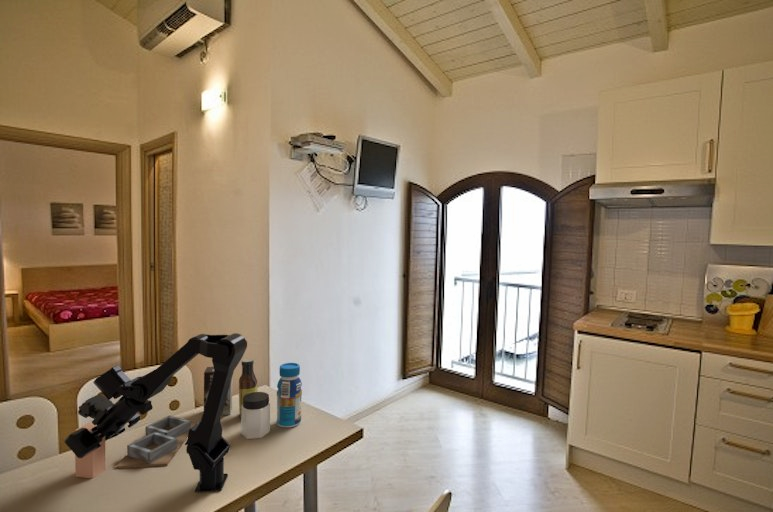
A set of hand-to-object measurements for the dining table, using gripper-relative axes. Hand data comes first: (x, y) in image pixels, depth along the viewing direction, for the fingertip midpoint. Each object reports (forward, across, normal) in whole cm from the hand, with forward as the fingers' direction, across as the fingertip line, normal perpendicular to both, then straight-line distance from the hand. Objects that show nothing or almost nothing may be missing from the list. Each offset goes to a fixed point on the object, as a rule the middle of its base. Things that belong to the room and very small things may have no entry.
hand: (85, 448), depth 104 cm
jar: (-20, -27, +30) cm, 45 cm away
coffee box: (-6, -39, +16) cm, 42 cm away
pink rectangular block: (+4, 0, +6) cm, 7 cm away
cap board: (-2, -16, +12) cm, 20 cm away
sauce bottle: (-14, -38, +24) cm, 47 cm away
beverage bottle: (-26, -35, +35) cm, 56 cm away
